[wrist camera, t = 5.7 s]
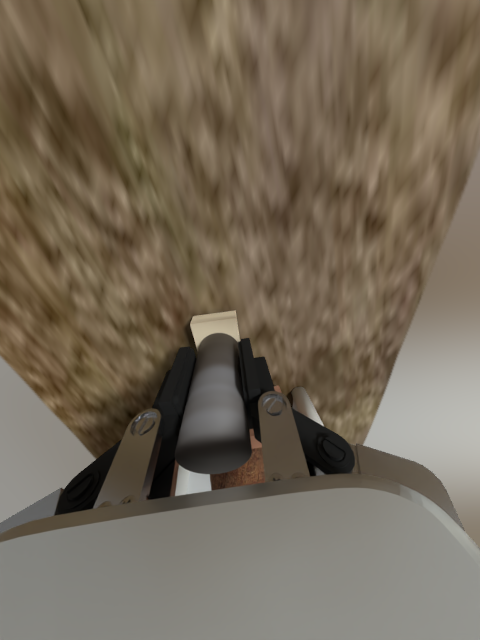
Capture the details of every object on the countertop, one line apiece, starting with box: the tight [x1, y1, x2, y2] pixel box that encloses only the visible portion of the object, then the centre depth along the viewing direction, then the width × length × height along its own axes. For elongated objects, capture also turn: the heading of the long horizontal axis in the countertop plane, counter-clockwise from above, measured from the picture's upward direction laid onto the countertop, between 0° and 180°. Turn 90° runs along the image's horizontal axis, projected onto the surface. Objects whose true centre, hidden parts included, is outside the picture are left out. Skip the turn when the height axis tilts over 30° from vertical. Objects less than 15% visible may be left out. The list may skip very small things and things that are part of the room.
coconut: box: [210, 447, 265, 490], centre depth 14 cm, size 5×5×8 cm
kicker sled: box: [175, 311, 281, 474], centre depth 11 cm, size 10×9×8 cm
